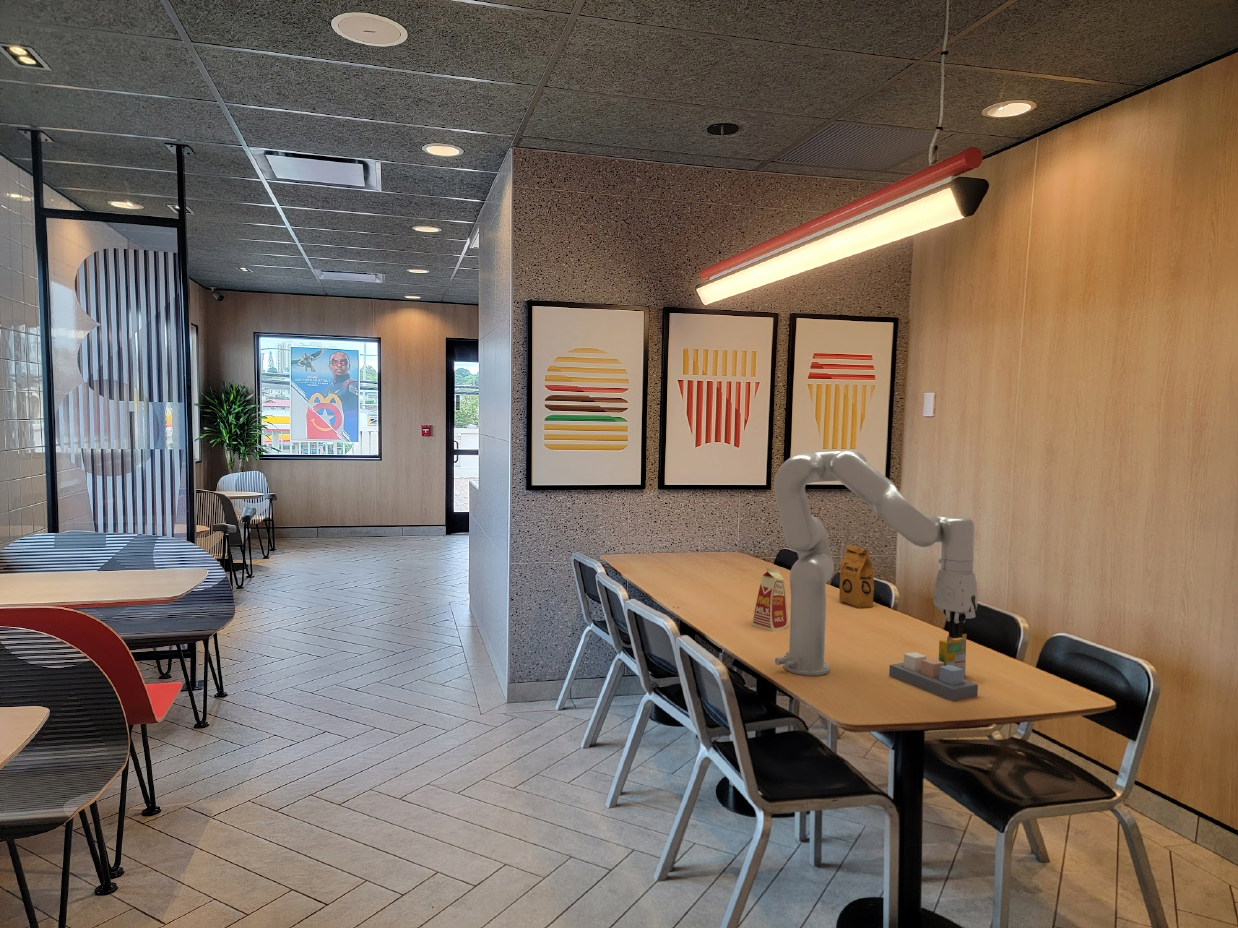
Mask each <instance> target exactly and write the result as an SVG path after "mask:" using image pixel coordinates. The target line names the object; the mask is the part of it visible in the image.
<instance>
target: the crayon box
mask: <svg viewBox="0 0 1238 928" xmlns="http://www.w3.org/2000/svg"><path fill="white" fill-rule="evenodd" d="M967 635H968V634H967V633H963V636H962V637H961V638H955V639H954V638H951V637H949V635H948V636H947V638H946V639H943V640H938V643H939V644H938V660H939V661H941V662H944V666H946V665H953V666H956V667H958V668H961V669H964V670H963V677H964V676H966V666H967V665H966V663H967V662H966V661H967V658H966V657H967Z"/></svg>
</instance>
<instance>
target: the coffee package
mask: <svg viewBox="0 0 1238 928" xmlns="http://www.w3.org/2000/svg"><path fill="white" fill-rule="evenodd" d="M845 549H846V552H845V554H844V557H843V558H842V561H841V563H840V565H839V568H840V569H839V571H840V573H839V587H838V588H839V598H838V599H839V600H838V601H840V602H843V603H845V604H848V605H850V606H853V607H855V608H858V609H861V608H862V609H866V608H873V607H874V591H875V581H874V580H875V579H874V571H873V570H874V569H873V566H872V561H871V559H870V558H871V557H870V555H869V552H868V550H867V548H862V547H858V546H853V545H849V544H847V545H846V546H845Z"/></svg>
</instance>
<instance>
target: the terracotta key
mask: <svg viewBox="0 0 1238 928" xmlns="http://www.w3.org/2000/svg"><path fill="white" fill-rule="evenodd" d="M941 666H944V662H941V661H939V659H935V658H932V657H931V658H926V659H925V660H921V674H923V675H925V676H928V677H930V678H938V677H939V671H940V667H941Z"/></svg>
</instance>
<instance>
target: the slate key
mask: <svg viewBox="0 0 1238 928" xmlns="http://www.w3.org/2000/svg"><path fill="white" fill-rule="evenodd" d="M963 670H964V669H961V668H958V667H956V666H953V665H946V666H941V667H940V671H939V681H941V682H944V683H946V684H949V685H952V686H953V685H959V684H963V679H964V676H963Z"/></svg>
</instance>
